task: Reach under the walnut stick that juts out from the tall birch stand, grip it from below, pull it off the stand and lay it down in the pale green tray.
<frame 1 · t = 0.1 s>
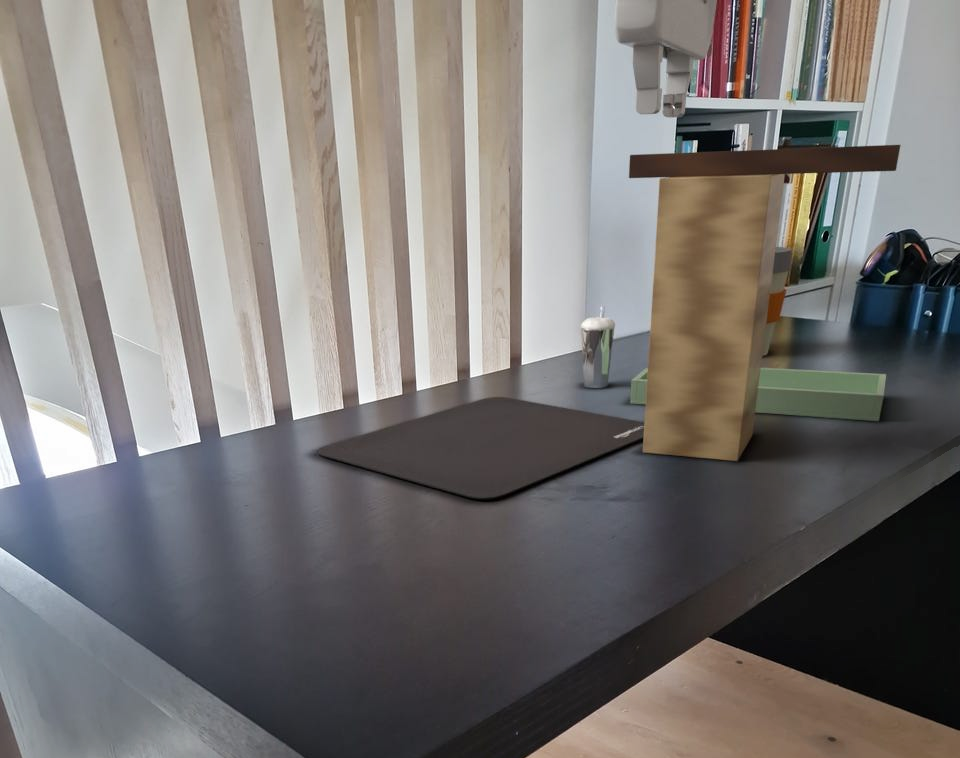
hand: (661, 115, 76), 31 cm above the table, tool pointing down, fingers open, 8 cm apart
stick: (756, 174, 80), point 26 cm above the table, touching stand
tray: (755, 401, 110), on the table
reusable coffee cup: (738, 353, 137), on the table
mouse pad: (492, 441, 97), on the table
stand: (698, 444, 94), on the table
milkshake: (596, 386, 120), on the table
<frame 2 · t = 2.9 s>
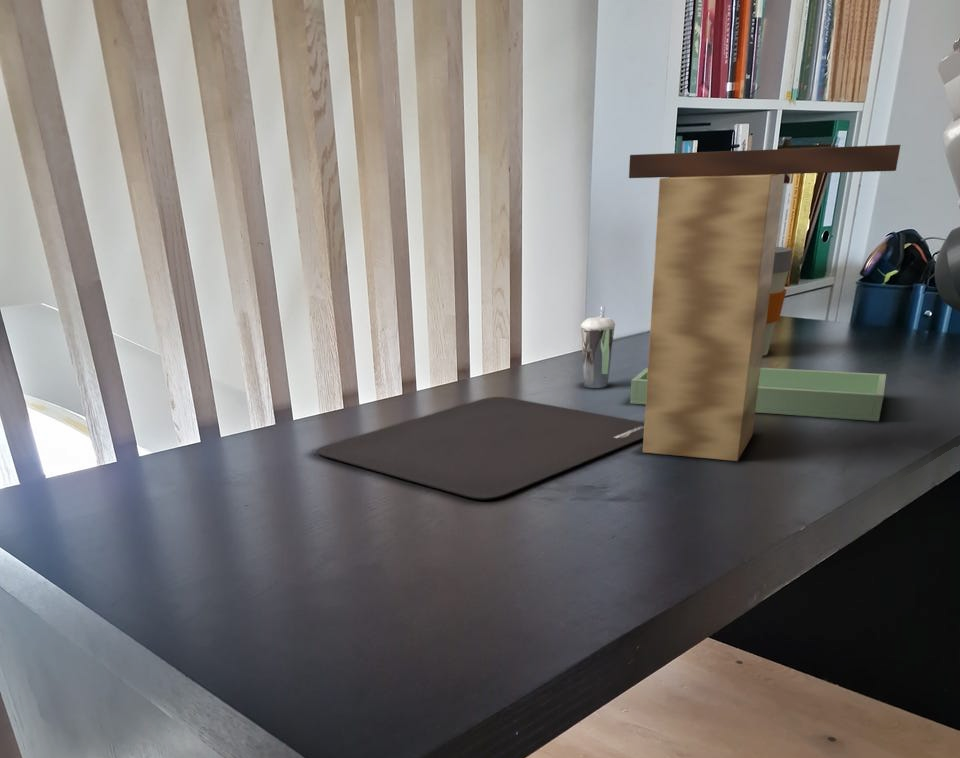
hand: (955, 45, 75), 35 cm above the table, tool pointing upward, fingers open, 8 cm apart
nothing on the table moved.
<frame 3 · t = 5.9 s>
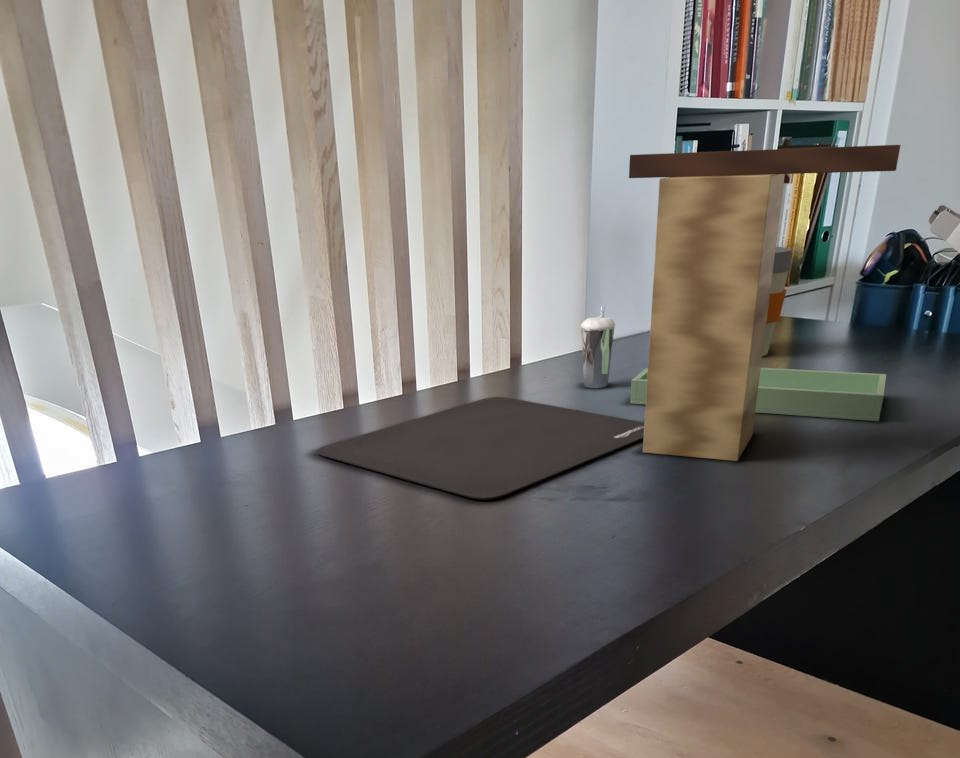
hand: (934, 215, 76), 22 cm above the table, tool pointing upward, fingers open, 8 cm apart
nothing on the table moved.
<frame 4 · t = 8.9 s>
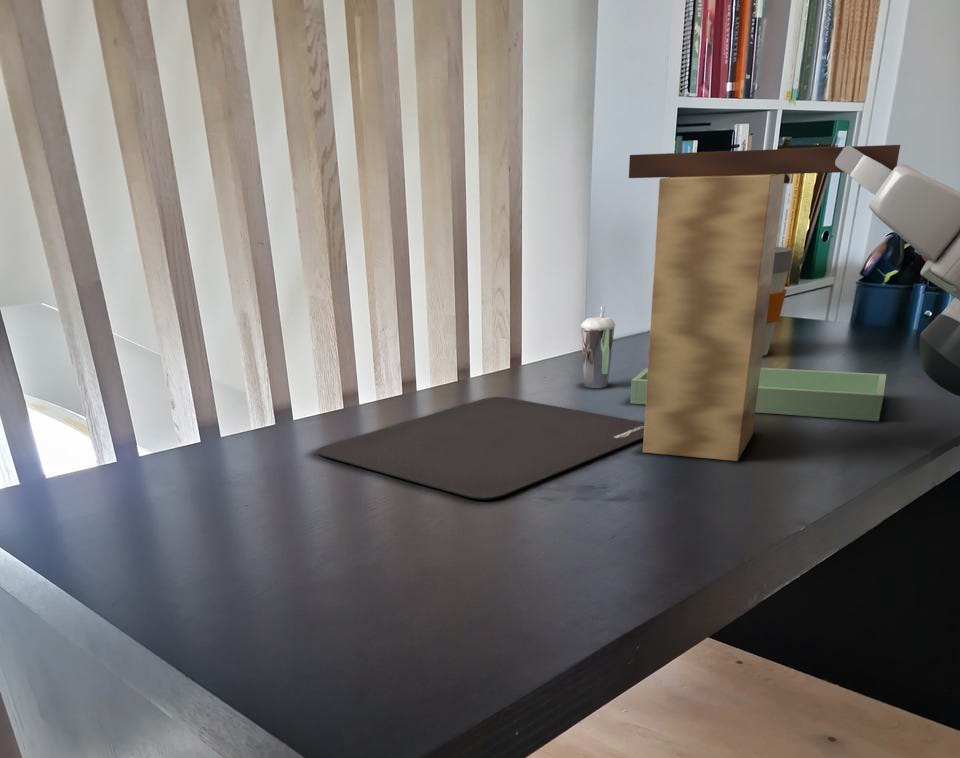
hand: (841, 153, 77), 27 cm above the table, tool pointing upward, fingers closed on stick, 2 cm apart
stick: (756, 174, 80), point 26 cm above the table, touching gripper, stand
everything else where it was.
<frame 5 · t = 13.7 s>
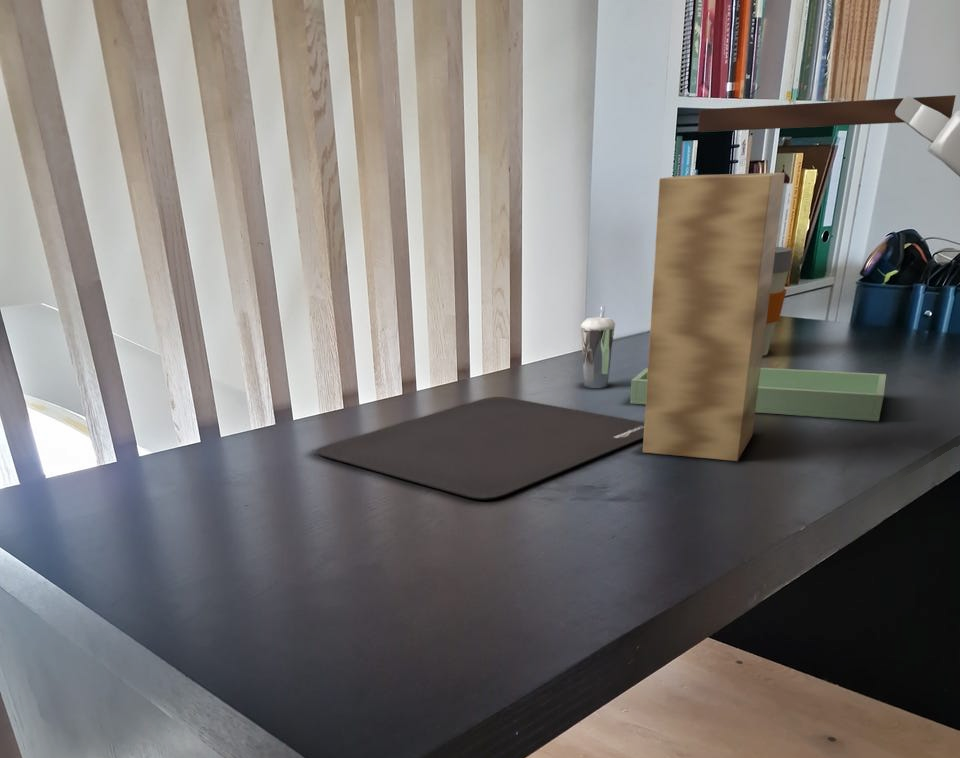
hand: (899, 105, 84), 31 cm above the table, tool pointing upward, fingers closed on stick
stick: (818, 126, 87), point 30 cm above the table, touching gripper
everything else where it was.
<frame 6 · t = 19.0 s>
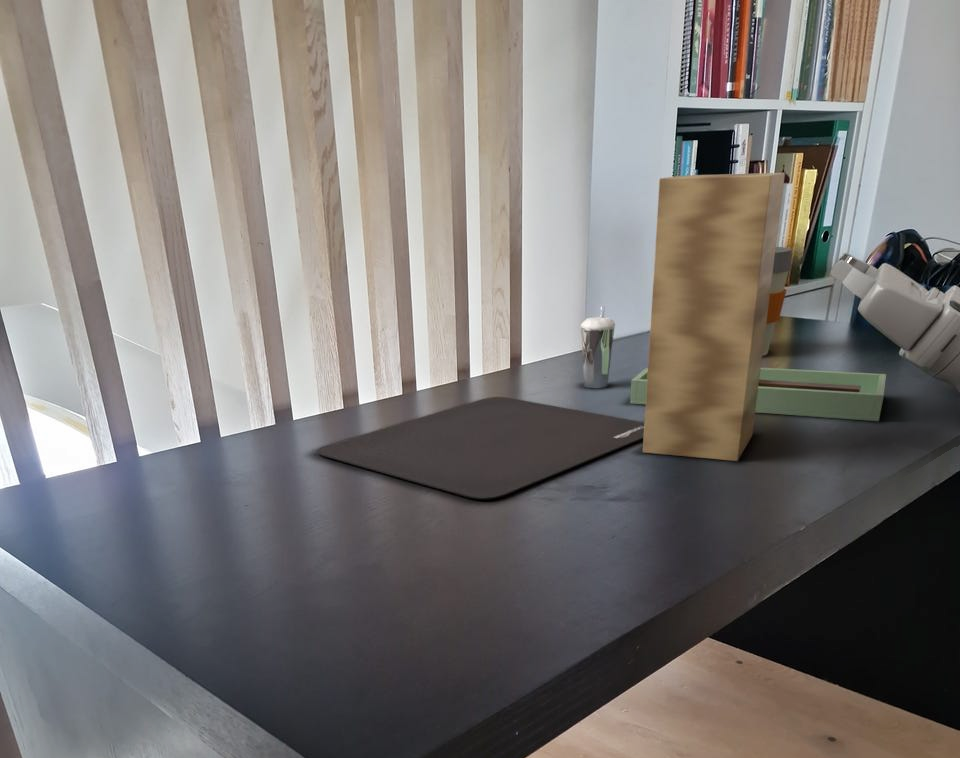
hand: (837, 262, 99), 16 cm above the table, tool pointing upward, fingers open, 6 cm apart
stick: (756, 397, 109), resting on tray
everything else where it was.
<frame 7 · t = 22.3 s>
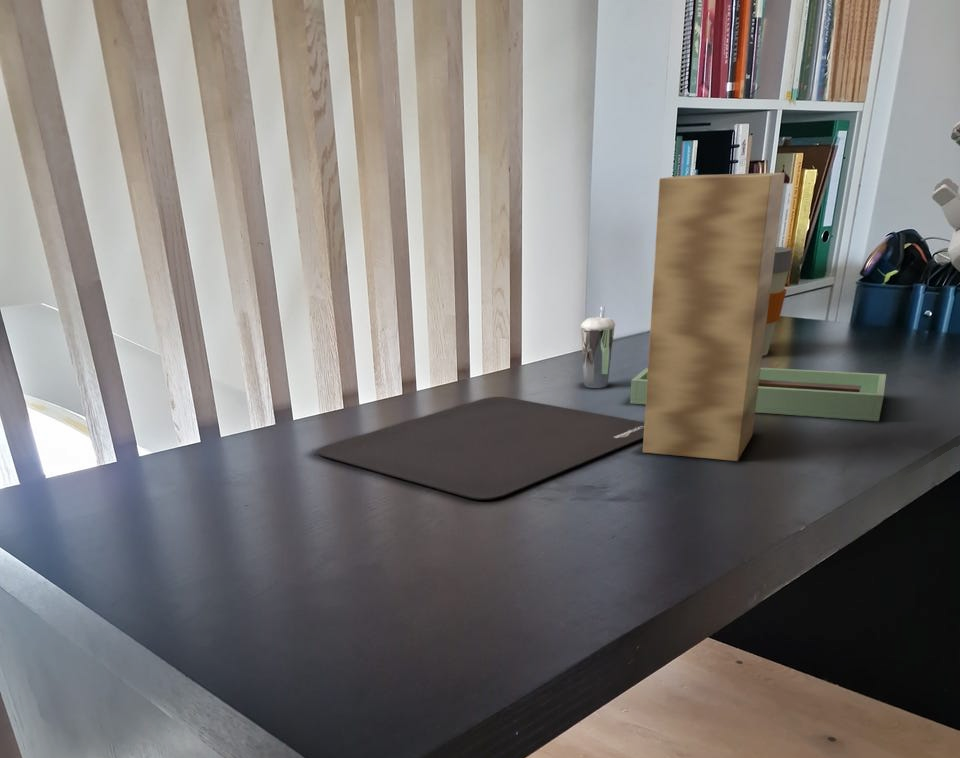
hand: (948, 155, 93), 27 cm above the table, tool pointing upward, fingers open, 8 cm apart
nothing on the table moved.
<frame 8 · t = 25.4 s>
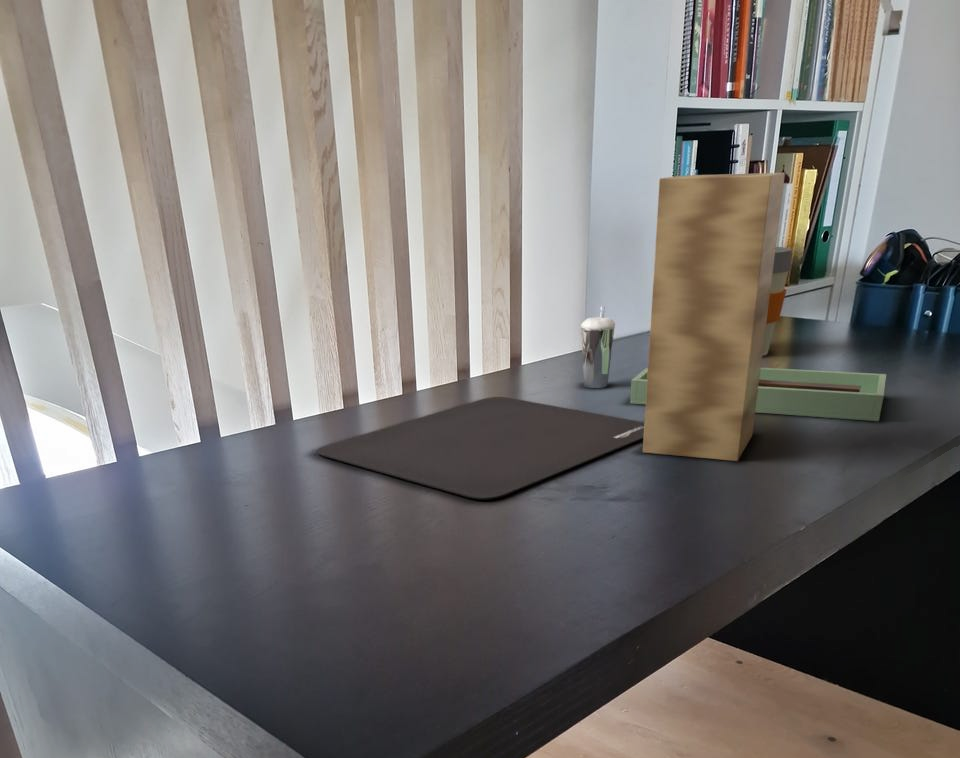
hand: (946, 30, 79), 37 cm above the table, tool pointing down, fingers open, 8 cm apart
nothing on the table moved.
at the end: stick inside the target area in the tray (0.1 cm from its centre), point 0.5 cm above the tray's base; stick moved 33.1 cm from its start; the gripper is holding nothing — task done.
